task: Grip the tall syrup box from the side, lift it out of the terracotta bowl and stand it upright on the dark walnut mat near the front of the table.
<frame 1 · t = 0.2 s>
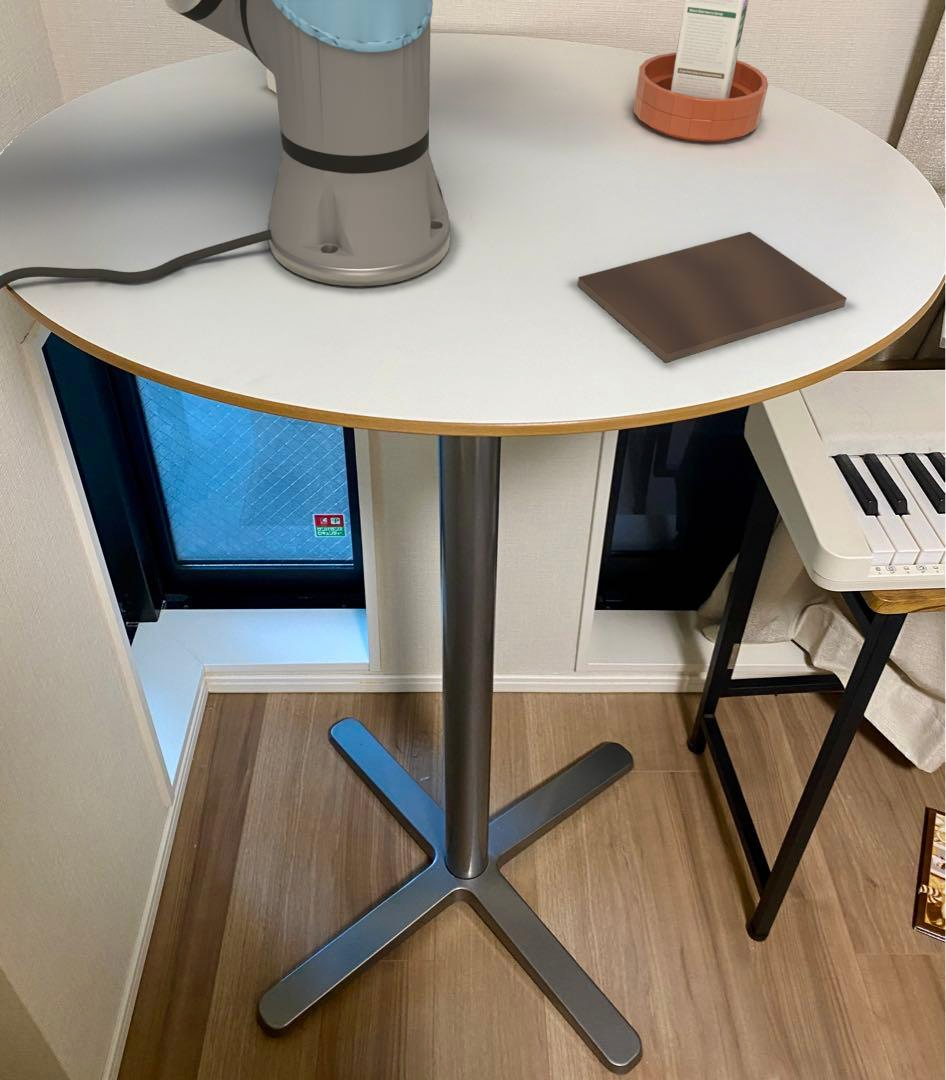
milk: (305, 93, 107), on the table
bowl: (694, 119, 106), on the table
mat: (710, 296, 80), on the table
syrup box: (695, 115, 105), resting on bowl
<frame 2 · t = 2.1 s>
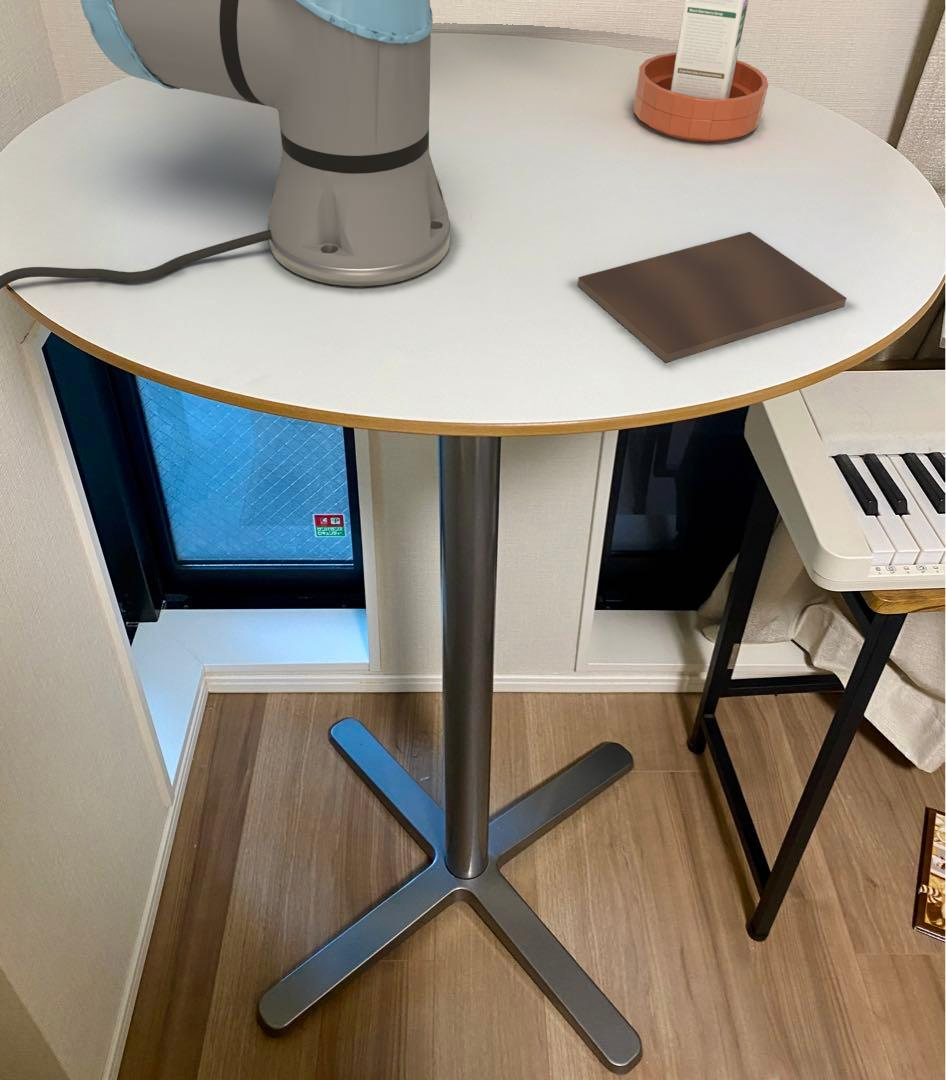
nothing on the table moved.
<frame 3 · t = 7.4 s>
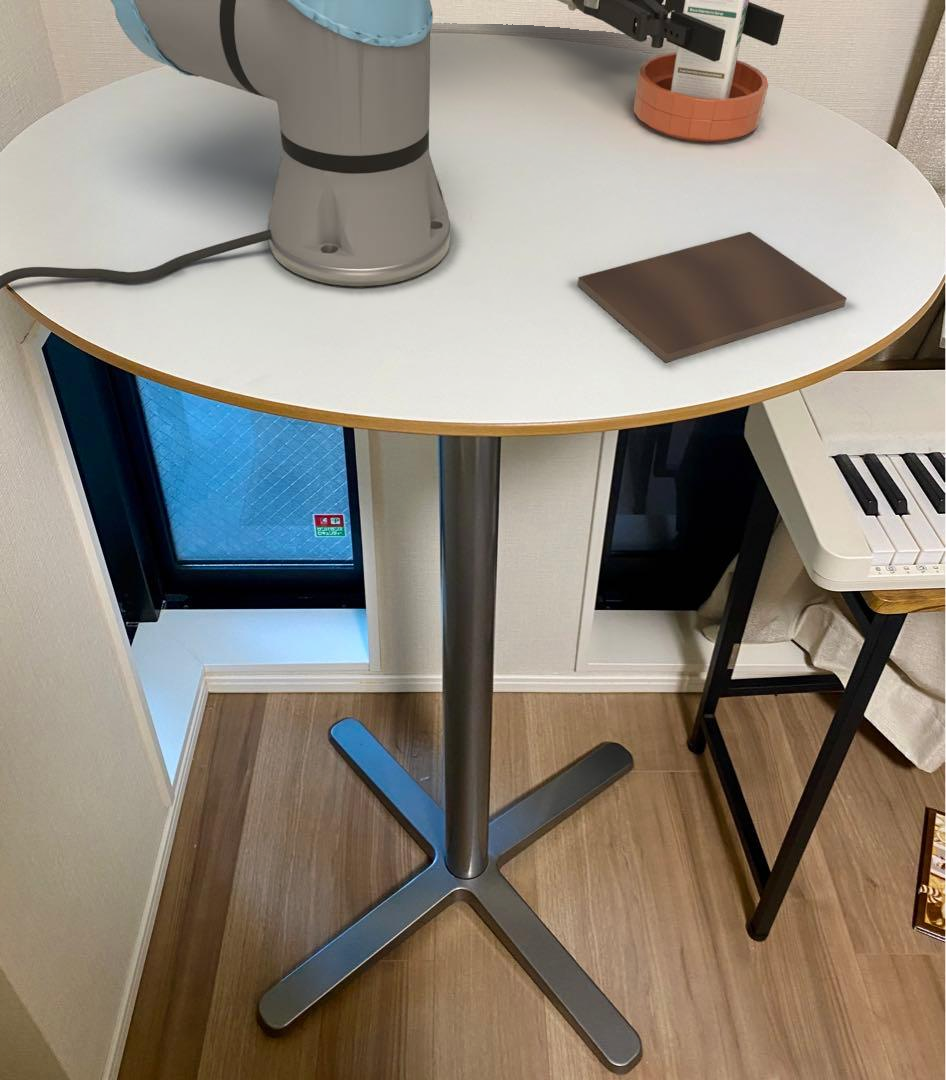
hand: (749, 38, 96), 10 cm above the table, tool horizontal, fingers closed on syrup box, 8 cm apart
syrup box: (695, 115, 105), resting on bowl, touching gripper
everything else where it was.
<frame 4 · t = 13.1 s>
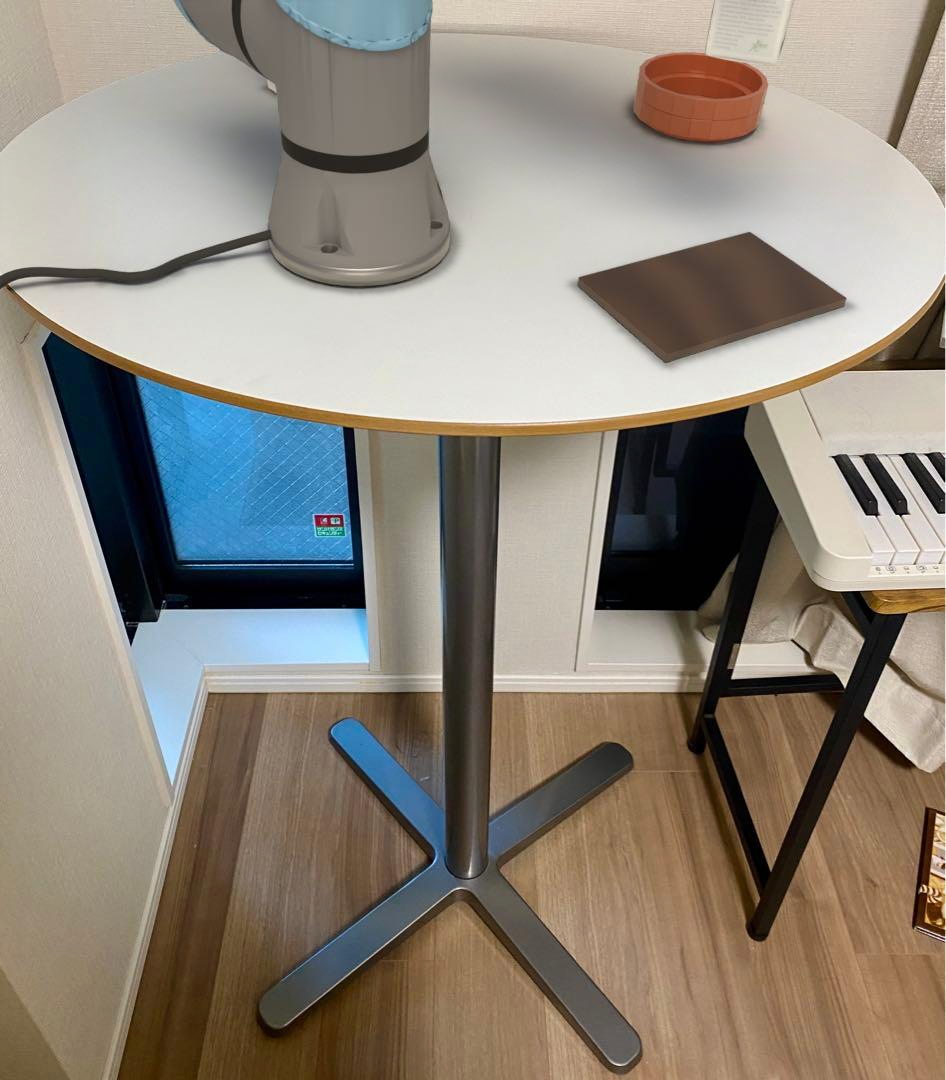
syrup box: (741, 53, 79), point 15 cm above the table, touching gripper
everything else where it was.
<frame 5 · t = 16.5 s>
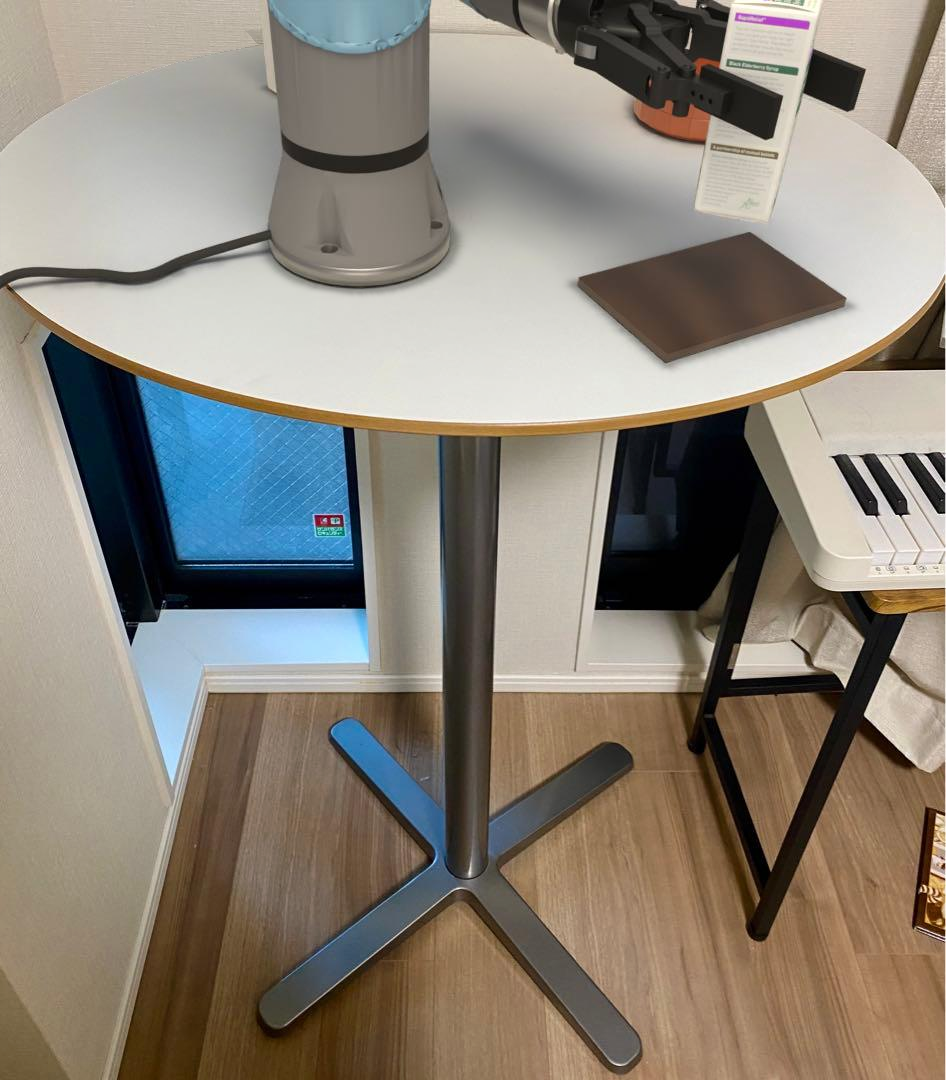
hand: (816, 104, 66), 17 cm above the table, tool horizontal, fingers closed on syrup box, 8 cm apart
syrup box: (733, 204, 75), point 8 cm above the table, touching gripper
everything else where it was.
when the fingers open (10 cm above the table, at t = 19.0 s): syrup box stays where it is, resting on mat.
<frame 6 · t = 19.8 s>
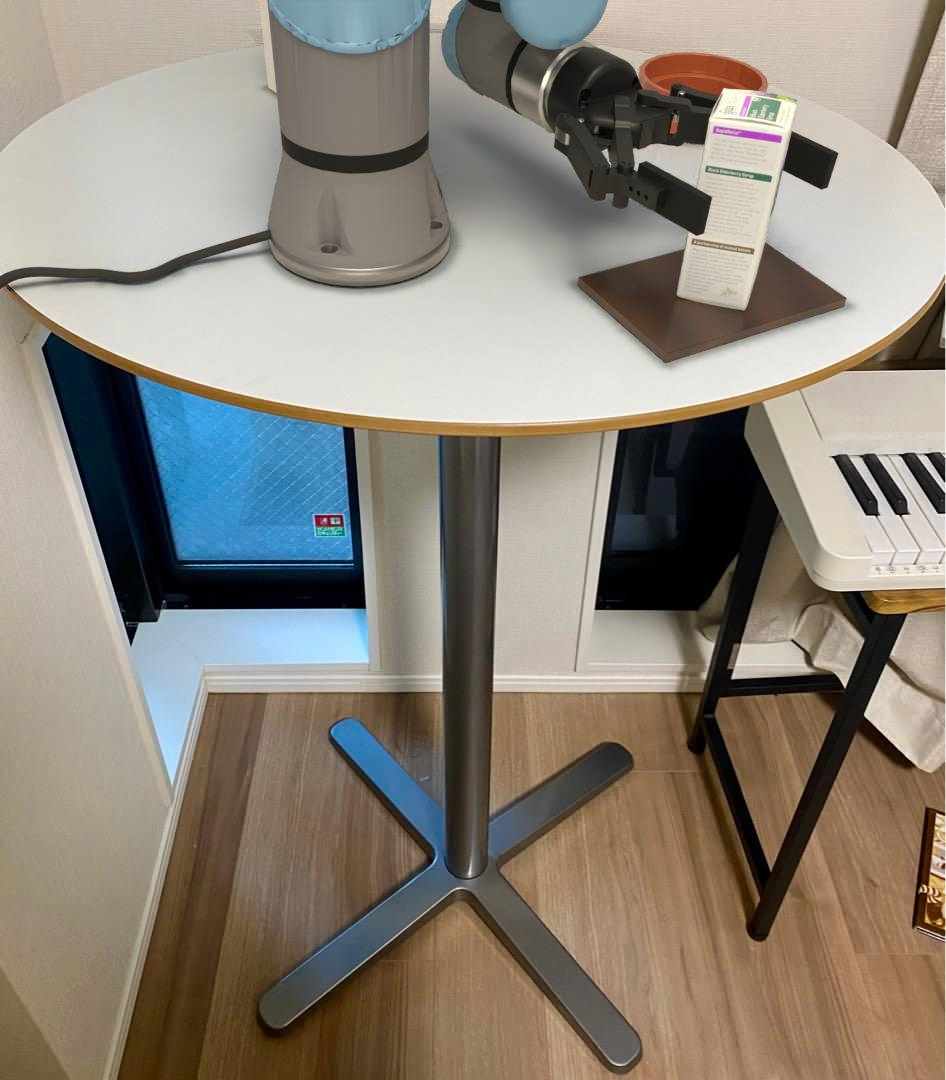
hand: (770, 193, 72), 10 cm above the table, tool horizontal, fingers open, 13 cm apart
syrup box: (714, 289, 80), point 1 cm above the table, touching mat
everything else where it was.
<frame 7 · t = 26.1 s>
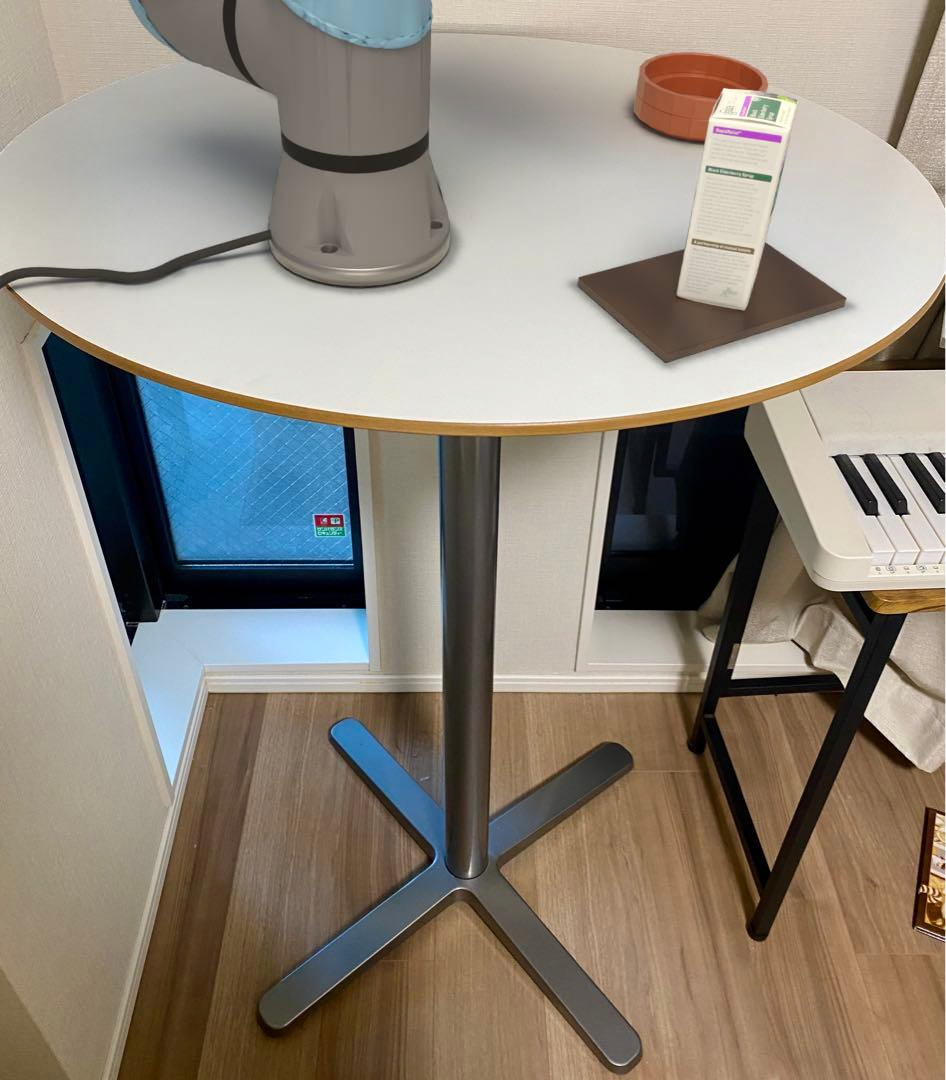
nothing on the table moved.
at the end: syrup box inside the target area on the mat (0.2 cm from its centre), point 0.6 cm above the mat's base; syrup box tilted 0°; syrup box touching mat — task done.
